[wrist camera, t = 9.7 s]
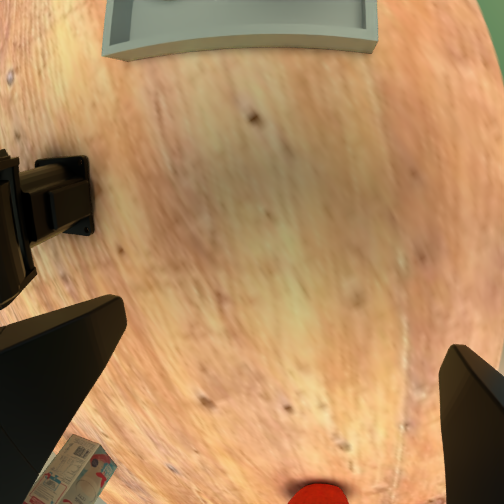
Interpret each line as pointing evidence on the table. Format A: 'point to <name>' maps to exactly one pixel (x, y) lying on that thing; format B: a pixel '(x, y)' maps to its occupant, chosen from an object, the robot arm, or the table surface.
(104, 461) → the juice carton
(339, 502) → the apple
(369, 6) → the grey shallow tray
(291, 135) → the table surface
